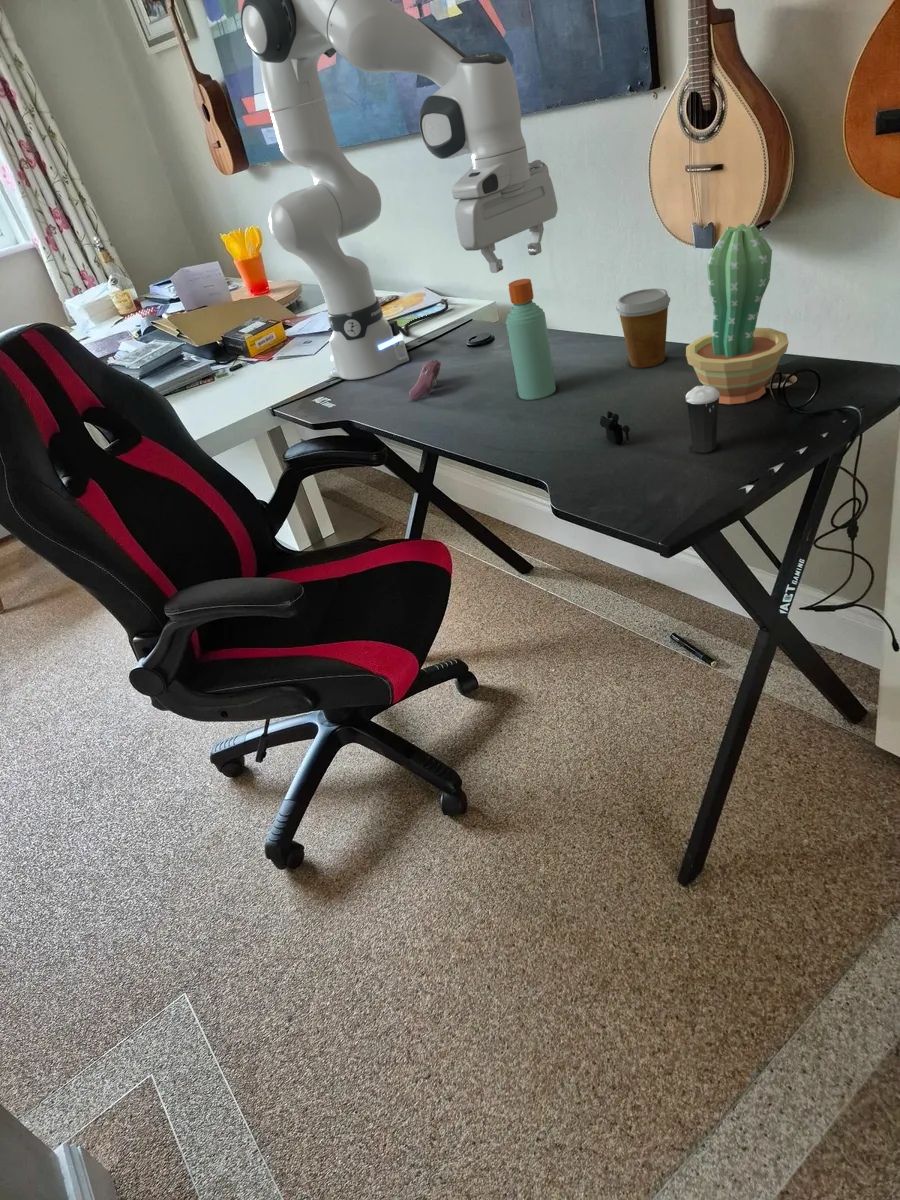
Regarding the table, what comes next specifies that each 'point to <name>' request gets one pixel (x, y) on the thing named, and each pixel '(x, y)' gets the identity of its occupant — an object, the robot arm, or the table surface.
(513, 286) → the cap
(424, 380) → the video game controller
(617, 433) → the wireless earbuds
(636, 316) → the disposable coffee cup
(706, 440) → the glass of dark beer
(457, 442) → the table surface
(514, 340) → the bottle
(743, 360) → the potted cactus
